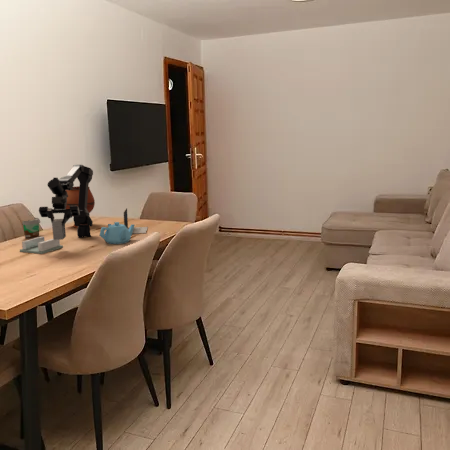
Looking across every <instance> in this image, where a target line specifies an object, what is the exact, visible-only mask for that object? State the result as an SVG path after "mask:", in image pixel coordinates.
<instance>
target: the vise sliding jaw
mask: <svg viewBox="0 0 450 450" xmlns="http://www.w3.org/2000/svg"><path fill="white" fill-rule="evenodd" d="M43 241H45V236H39V237H35V238H29V239H27V240H23V241H21V245H22V249H25V250H26V249H29V248H33V247H36V246H38V243H40V242H43Z"/></svg>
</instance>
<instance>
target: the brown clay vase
mask: <svg viewBox="0 0 450 450" xmlns="http://www.w3.org/2000/svg"><path fill="white" fill-rule="evenodd" d="M79 186H80V185H79ZM79 186H73V188H72V189H71V190H66V191H67V194H68V197H67V203H66V204H67V206H66V209H70V206H78V201H79ZM95 204H96V203H95V198H94V195H93V193H92V190H91V189H90V186H88V200H87V210H88V212H89V214H90V213H92V211H93V210H94V208H95ZM72 218H74V216H72ZM73 228H76V229H77V228H78V226H75V224H74V223H73Z"/></svg>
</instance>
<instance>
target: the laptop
mask: <svg viewBox="0 0 450 450" xmlns="http://www.w3.org/2000/svg"><path fill="white" fill-rule="evenodd" d="M128 219H129V218H128V208H125V210H124V211H123V225H125V226H126V227H127V229H129V224H128V223H129V222H128V221H129V220H128ZM148 228H149V227H148V226H139V227H137V226H136V227H135V226H134V229H133V232H132V235H133V234H136V235H137V234H140V233H142V234H146V233H147V232H148ZM146 231H147V232H146ZM140 235H141V234H140Z"/></svg>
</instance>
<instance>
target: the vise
mask: <svg viewBox="0 0 450 450" xmlns="http://www.w3.org/2000/svg"><path fill="white" fill-rule="evenodd" d="M62 248H64V245H61V240H53V238H50V239H47V240H44V241H43V242H40V243H38V246H36V247H33V248H29V249H26V250H25V249H23V248H21V249H19V252H20V253H31V254H39V255H43V254H46V253H49V252H52V251H56V250H58V249H62Z"/></svg>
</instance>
